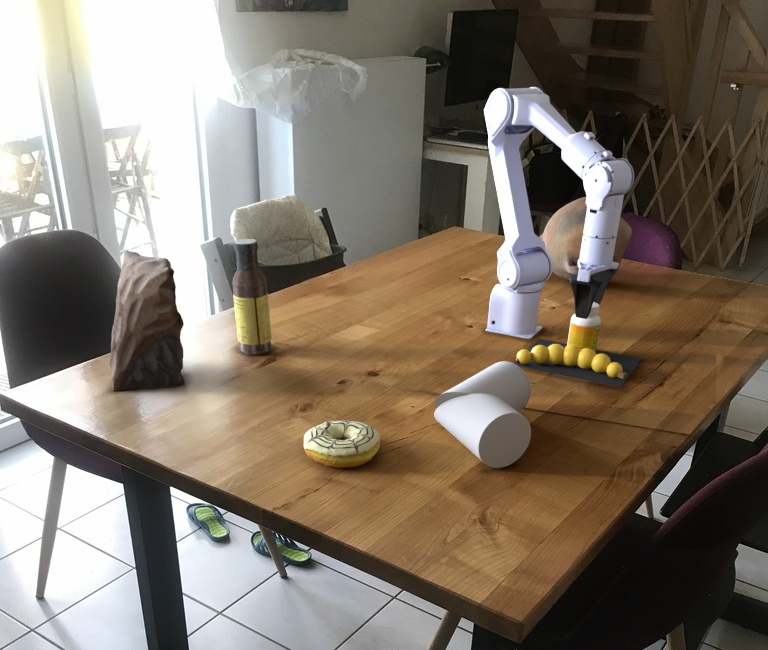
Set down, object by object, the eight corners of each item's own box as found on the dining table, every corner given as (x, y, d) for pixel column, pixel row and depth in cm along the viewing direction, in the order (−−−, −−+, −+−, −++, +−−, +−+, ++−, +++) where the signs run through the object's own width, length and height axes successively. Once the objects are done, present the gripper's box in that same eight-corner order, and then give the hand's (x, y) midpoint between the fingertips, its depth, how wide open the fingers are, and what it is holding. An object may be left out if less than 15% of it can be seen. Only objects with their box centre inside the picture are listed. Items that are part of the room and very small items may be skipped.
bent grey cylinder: (402, 410, 126) (463, 467, 111) (419, 345, 122) (484, 395, 106) (495, 416, 134) (564, 470, 119) (514, 355, 130) (588, 403, 114)
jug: (638, 282, 195) (523, 282, 211) (645, 195, 190) (526, 203, 205) (613, 283, 179) (490, 284, 195) (619, 189, 174) (492, 197, 189)
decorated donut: (321, 433, 122) (320, 410, 120) (388, 445, 119) (389, 421, 117) (292, 463, 113) (292, 439, 111) (364, 477, 110) (365, 452, 108)
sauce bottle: (267, 342, 154) (262, 235, 143) (275, 353, 149) (270, 243, 138) (234, 346, 152) (226, 237, 141) (241, 357, 147) (233, 246, 137)
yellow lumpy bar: (513, 366, 146) (515, 346, 143) (520, 354, 151) (522, 335, 149) (625, 383, 140) (629, 362, 138) (628, 370, 145) (632, 350, 143)
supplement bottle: (595, 361, 149) (604, 309, 144) (565, 358, 150) (573, 307, 144) (594, 351, 153) (603, 300, 148) (565, 348, 154) (573, 298, 149)
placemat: (511, 366, 146) (511, 364, 146) (538, 340, 159) (539, 338, 158) (620, 389, 139) (621, 387, 139) (641, 360, 151) (641, 358, 151)
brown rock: (130, 362, 144) (113, 248, 133) (200, 364, 144) (189, 250, 133) (108, 390, 133) (88, 268, 122) (185, 393, 133) (171, 271, 122)
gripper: (612, 247, 133) (598, 326, 140) (632, 230, 144) (618, 304, 151) (570, 241, 135) (559, 319, 143) (593, 225, 146) (581, 298, 154)
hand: (587, 311), depth 147 cm, fingers open, 7 cm apart
